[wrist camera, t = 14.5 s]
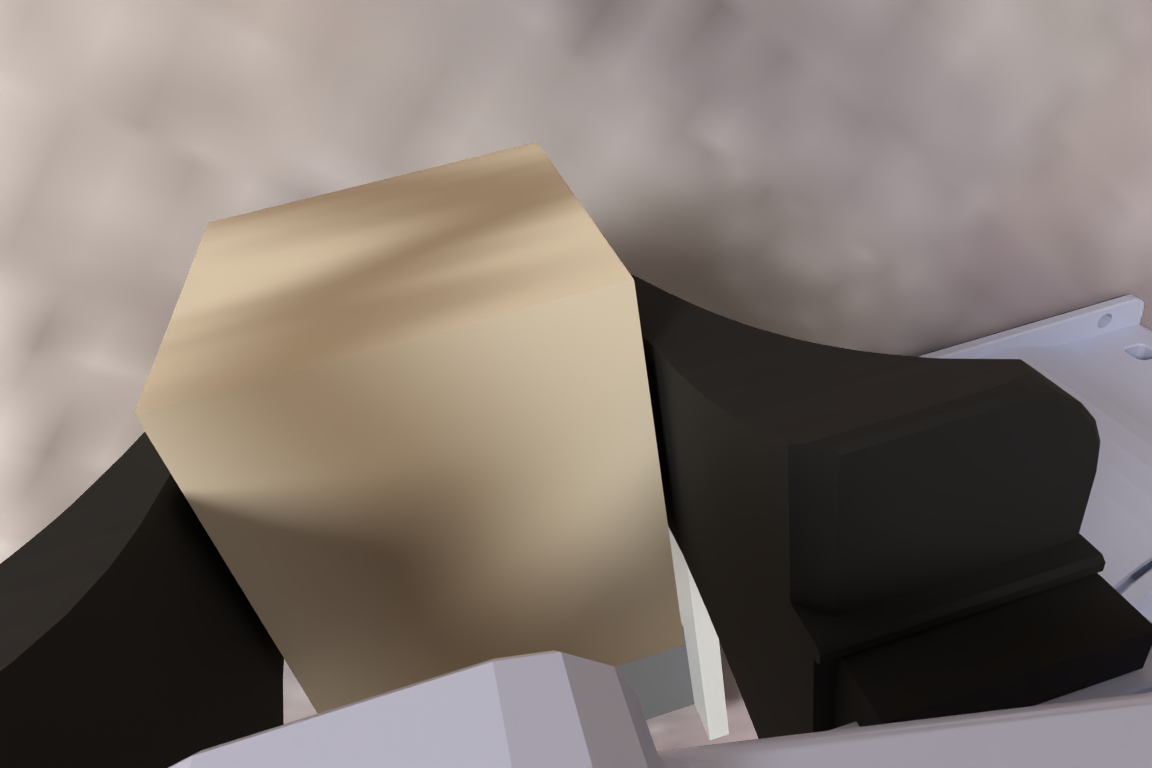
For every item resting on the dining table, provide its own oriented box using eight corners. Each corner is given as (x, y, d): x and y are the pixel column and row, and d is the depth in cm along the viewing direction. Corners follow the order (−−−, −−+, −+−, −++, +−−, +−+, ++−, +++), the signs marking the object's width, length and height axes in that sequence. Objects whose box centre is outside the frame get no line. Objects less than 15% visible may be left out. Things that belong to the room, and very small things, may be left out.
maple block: (536, 141, 12) (634, 279, 8) (595, 441, 16) (684, 645, 11) (208, 223, 12) (133, 413, 8) (343, 514, 15) (342, 754, 11)
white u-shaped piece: (661, 298, 22) (686, 331, 21) (709, 691, 33) (728, 733, 32) (360, 381, 21) (361, 423, 20) (511, 757, 32) (520, 804, 31)
